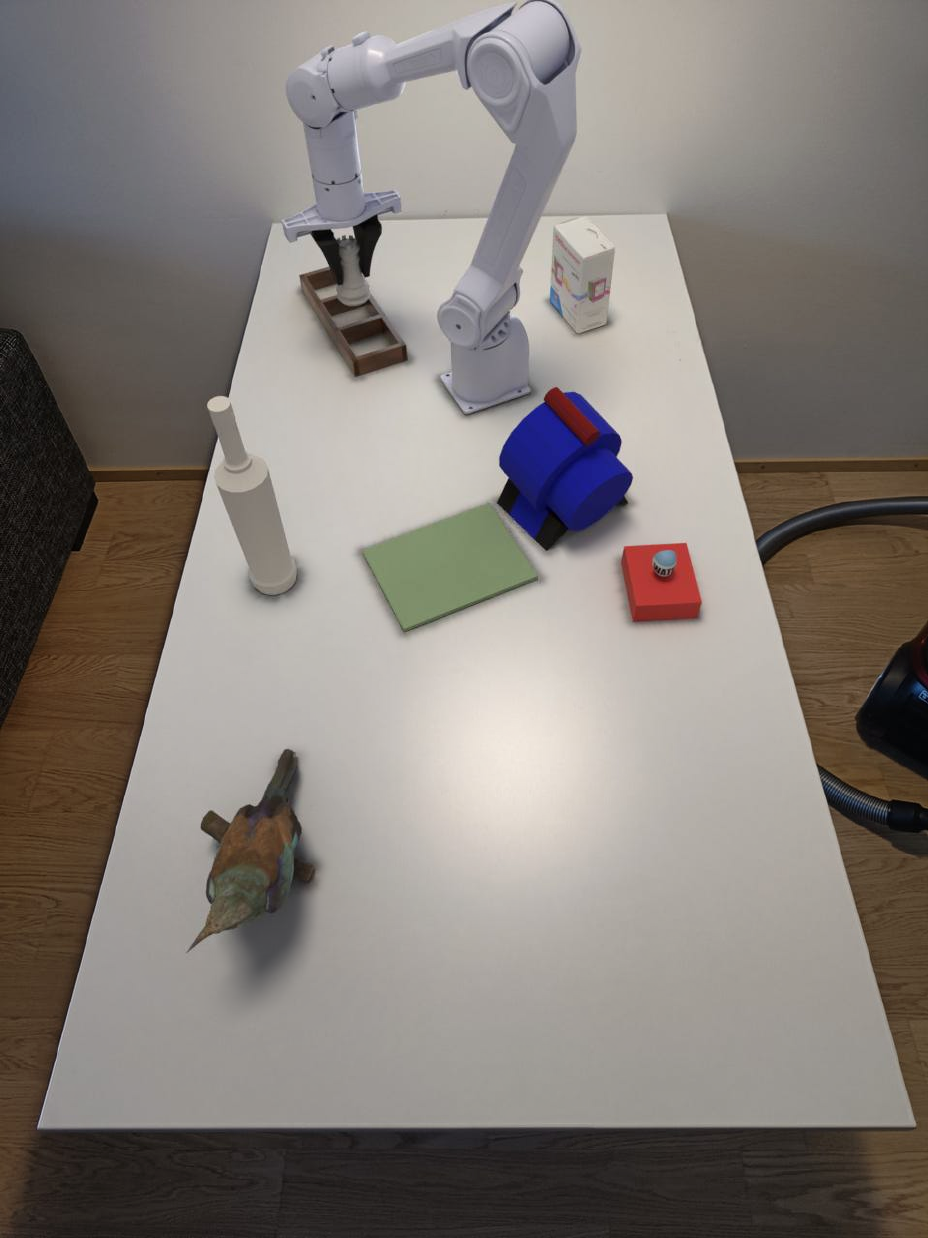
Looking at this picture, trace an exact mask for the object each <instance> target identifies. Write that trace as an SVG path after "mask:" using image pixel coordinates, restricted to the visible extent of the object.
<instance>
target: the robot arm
mask: <svg viewBox="0 0 928 1238" xmlns="http://www.w3.org/2000/svg"><path fill="white" fill-rule="evenodd" d="M518 3H519V2H518V1H514V2H506V3H502V4H500V5H496V6H493V7H490V8H487V9H484V10H482V11H478V12H474V13H472V14H469V15H467V16H464V17H462V18H458V19H456V20H454V21H452V22H449V23H447V24H444V25H441V26H439V27H437V28H434V29H431V30H429V31H427V32H424V33H422V34H419V35H416V36H414V37H412V38H409V39H407V40H404V41H402V42H398V43H397V42H395V41H394V40H393V39H391V37H389V36H387V35H384V34H375V35H374V36H371V34H370V32H369V30H365V31H363V32H360V33H358V34H356V35H355V36H354V37H352V38H351V42H352V43H351V44H348V45H345V46H342V47H338V48H336V47H335V46H334V45H329V46H326V47H325V48H323V49H321V50H320V52H319V53H317V54H316V55H314V56H312V57H311V58H310V59H308V60H306V61H305V62H303V63H302V64H300V65H299V66H297V67H296V68H295V69H293V71H291V72H290V73H289V74H288V76H287V78H286V81H285V96H286V98H287V99H286V100H287V102H288V104H289V107H290V109H291V110H292V112H293V113H294V115H295V116H296V117H297V118H298V119H299V121H301V122H302V127H303V133H304V137H305V143H306V144H305V145H306V149H307V156H308V162H309V167H310V172H311V179H312V183H313V184H312V185H313V190H314V197H315V204H312V206H309V207H308V208H306V209H304V210H302V211H300V212H298V213H296V214H294V215H292V216H290V217H286V218H284V219H281V224H282V231H283V234H284V237H285V238H286V240H287V241H288V243H289V244H291V243H294V242H297V241H298V238H300V237H304V236H308V235H310V236H311V237H312V239H313V240H314V242H315V244H316V245H317V247H318V249H320V251H321V253H322V255H323V257H324V259H325V260H326V262H327V265H328V267H329V268H330V270H331V273H332V277H333V279H334V280H335V282H336V284H335V285H336V286H337V285H342V284H343V277H342V272H341V268H340V261H339V243H338V241H337V240H336V239H337V238H336V237H335V232H333V230H340V229H349V228H352V230H353V235H354V236H353V237H354V238H356V241H357V243H359V245H360V250H359V251H358V253H357V254H358V255H359V257H360V260H359V266H360V269H361V273H362V275H363V276H364V277H365V279H366V278H369V277H370V276H371V267H372V261H373V257H374V252H375V249H376V246H377V244H378V242H379V240H380V237H381V236H382V233H383V226H382V223H381V221H380V220H379V216H380V215H384V214H388V213H391V212H392V214H394V215H395V214H399V213H402V211H403V208H402V198H401V196H400V194H399V193H398V191H397V190H395V189H389V190H384V191H374V192H373V191H372V192H365V191H364V184H363V176H362V175H363V174H362V167H361V158H360V152H359V151H360V150H359V141H358V134H357V133H358V132H357V125H356V120H357V119H358V118H359V117H358V111H360V110H364V109H367V108H370V107H374V106H377V105H381V104H384V103H388V102H392V101H395V100H397V99H399V97H400V96H401V95H402V94H403V92H404V90H405V87H406V84H407V82H412V81H416V80H420V79H425V78H431V77H434V76H439V75H442V74H447V73H451V72H452V73H453V72H455V73H456V76H457V78H458V81H459V83H460V85H461V87H462V88H463V90H466V91H469V89H471V88H472V89H471V90H473V92H474V94H475V95H476V97H477V99H478V100H479V102H480V103H481V105H482V106H483V107H484V109H486V111H487V112H488V113H489V114H490V116H491V117H492V118H493V120H494V121H495V122H496V124H497V125H498V127H499V128H500V129H501V130H502V132H503V133H504V134H505V136H506V137H507V138H508V140H509V141H510V142H511V143H512V144H515V146H514V148H513V151H512V154H511V156H510V158H509V162H508V164H507V167H506V169H505V173H504V175H503V177H502V180H501V183H500V185H499V188H498V191H497V194H496V195H495V199H494V202H493V204H492V207H491V209H490V212H489V215H488V216H487V217H488V218H487V219H486V223H485V226H484V228H483V231H482V233H481V235H480V238H479V240H478V241H479V242H478V244H477V246H476V249H475V252H474V254H473V257H472V260H471V262H470V264H469V266H468V268H467V269H466V270H465V272H464V274H463V275H462V276H461V278H460V279H459V281H458V283H457V284H456V285H455V287H454V289H453V292H452V294H451V296H450V297H449V298H447V299H446V300H445V301H443V302H442V303H441V304H440V306H439V307H438V309H437V317H436V318H437V324H438V326H439V328H440V330H441V332H442V334H443V335H444V336H445V338H446V339H448V342H450V364H451V365H450V366H451V371H449V372H446V373H443V374H441V375H440V378H439V379H440V381H441V382H442V384H443V385H444V387H445V388H446V390H447V391H448V392H449V394H450V395H451V397H452V398H453V400H454V401H455V402H456V404H457V405H458V407H459V408H460V409H461V411H462V412H463V413H464V414H465V415H470V414H473V413H476V412H478V411H481V410H485V409H487V408H490V407H493V406H496V405H499V404H502V403H505V402H508V401H511V400H513V399H516V398H519V397H523V396H526V395H528V394H530V393H531V387H530V386H529V370H530V369H529V367H530V342H529V337H528V333H527V330H526V328H525V326H524V324H523V322H522V321H521V319H520V318H518V316H517V315H511V310H513V309H514V308H515V307H516V306H517V305H518V303H519V301H520V297H521V287H520V286H521V285H520V283H521V278H522V276H523V273H524V269H523V268H522V267H521V263H522V261H523V259H524V256H525V254H526V251H527V249H528V247H529V245H530V243H531V241H532V238H533V237H534V234H535V232H536V229H537V227H538V225H539V223H540V221H541V218H542V217H543V214H544V212H545V209H546V207H547V204H548V203H549V199H550V198H551V196H552V193H553V191H554V189H555V187H556V185H557V182H558V180H559V178H560V175H561V173H562V171H563V169H564V166H565V164H566V162H567V159H568V157H569V155H570V153H571V151H572V148H573V146H574V144H575V141H576V137H577V133H578V132H577V131H578V126H577V125H578V122H577V121H578V119H577V87H576V85H577V83H576V82H577V81H576V74H577V69H578V66H579V61H580V58H581V53H582V46H581V43H580V41H579V39H578V36H577V33H576V32H575V29H574V27H573V23H572V21H571V19H570V17H569V15H568V13H567V11H566V10H565V8H564V7H563V6H561V4H560V3H558V1H556V0H526V1H525V2H523V4H521V5H520V6H519V8H518V9H517V10H516V11H515V12H513V11H514V9H515V7H517V5H518Z"/></svg>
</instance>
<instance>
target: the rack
mask: <svg viewBox="0 0 928 1238" xmlns="http://www.w3.org/2000/svg"><path fill="white" fill-rule="evenodd" d="M298 277H299V282H300V287H301V291H302V293H303V295H304V296H305V298H306V300H307V301H308V302H309V304H310V306H311V307H312V309H313V310H314V312H315V314H316V315H317V317H318V319H319V320H320V322H321V324H322V326H324V328H325V331H326V332H327V333H328V335H329V336H330V338H331V340H332V341H333V343H334V345H335V346H336V348H337V350H338V351H339V353H340V354H341V356H342V358H343V359H344V361H345V363H346V364H347V366H348V368H349V369H350V371H351V373H352V374H353V376H354V377H355V378H356V377H359V376H361V375H365V374H368V373H371V372H374V371H377V370H381V369H384V368H386V367H390V366H393V365H396V364H399V363H402V362H405V361H408V348H407V344H406V342H405V341H404V339H403V338H402V336H401V335H400V334H399V332H398V331H397V329H396V328H395V327H394V324H393V323H392V322H391V320H390V319H389V317H388V316H387V315H386V313H385V312H384V310H383V309H382V307H381V305H380V304H379V303H378V301H377V300H376V299H375V297H374V296H373V294H372V293H371V295H370V297H369V299H368V300H367V301H366V302H365V303H363V304H361V305H358V306H348V305H345V304H343V303H342V302H341V301H339V300H338V297H337V294H335V295H332V296H329V297H325V298H320V297H319V295H318V294H317V292H316V290H320V289H323V288H326V287H330V286H333V285H337V284H336V282H335V280H334V279H333V277H332V273H331V270H330V268H329V266H325V267H321V268H319V269H316V270H312V271H308V272H305V273H302V274H299V276H298ZM361 307H365V308H366V309H367V311H368V313H369V314H370V315H371V316H370V317H367V318H363V319H360V320H357V321H353V322H350V323H348V324H345V325H341V326H338V325H337V323H336V322H335V320H334V318H333V317H332V316H336V315H339V314H342V313H346V312H349V311H353V310H357V309H359V308H361ZM380 334H383V335H384V336H385V338H386V340H387V341H388V343H389V344H390V345H389V346H385V347H382V348H379V349H375V350H373V351H370V352H367V353H364V354H360V355H357V356H356V354H355V352H354V350H353V349H352V348H351V346H350V345H349V344H352V343H355V342H358V341H361V340H364V339H368V338H372V337H375V336H378V335H380Z"/></svg>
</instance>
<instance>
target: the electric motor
mask: <svg viewBox="0 0 928 1238" xmlns="http://www.w3.org/2000/svg"><path fill="white" fill-rule="evenodd" d="M622 443H623V441H622V438H621V435H620V434H619V433H618V432H617V430H615V428H614V427H612V426H611V424H610V423H609V422H608V421H607V420H606V419H605V418H604V417H603V416H602V415H601V414H600V413H599V412H598V411H597V410H596V409H595V407H593V406H592V404H590V403H589V401H587V399H586V398H585V397H584V396H583V394H580V393H579V392H576V391H562V390H561V388H559V387H558V386H553V387H552V388H550V390H548V391H547V392H546V393H545V394H544V396H543V402H542V403H541V404H539V405H538V406H536V407H534V409H533V410H531V411H530V412H529V413H528V414H526V415H525V417H523V418H522V419H521V420H520V422H519V423H518V424H517V425H516V426H515V428H513V430H512V431H511V433H510V434H509V436H508V437H507V439H506V440H505V442H504V444H503V445H502V448H501V451H500V453H499V456H498V467H499V468H500V470H501V471H502V472H503V473H504V475H506V477H507V480H506V482H505V484H504V486H503V488H502V491H501V492H500V495H499V497H498V499H497V501H496V503H497V505H498V506H500V508H501V509H502V510H504V511H505V513H507V514H508V515H509V516H510V517H511V519H513V520H514V521H515V522H516V523H517V524H518V525H519V526H520V527H521V528H522V529H523V530H524V531H525V532H526V533H527V534H528V535H529V536H530V537H531V538H532V539H534V541H535V542H536V543H537V544H538V545H540V546H541V547H542V549H544V550H545V551H548V550H549V549H550V548H551V547H552V546H553V545H555V544H556V542H558V541H559V540H560V539H561V538H562V537H563V536H564V535H565V534H566V533H567V532H568V531H570V532H575V533H576V532H579V531H583V530H585V529H587V528H589V527H591V526H592V525H594V524H596V523H597V522H599V521H600V520H602V519H603V518H604V517H605V516H606V515H608V514H609V513H610V512H611V511H612V510H613V509H614V508H615V507H617V506H622V505H626V504H627V505H628V504H629V501H628V500H627V498H626V496H625V495H626V494H627V493H628V491H629V490H630V488H631V486H632V484H633V480H634V475H633V473H632V472H631V471H630V470H629V469H628V468H627V466H626V465H625V464H624V463H623V462H622V461H621V460H620V459H619V458H618V455H619V454H620V452H621V447H622Z"/></svg>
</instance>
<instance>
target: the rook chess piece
mask: <svg viewBox="0 0 928 1238" xmlns="http://www.w3.org/2000/svg"><path fill="white" fill-rule="evenodd" d="M336 240H337V241H338V243H339V261H340V268H341V272H342V277H343V284H342V285H337V284H336V289H335V290H336V293H337V294H336V295H337V297H338V300H339V301H341V302H342V303H343V304H345V305H348V306H358V305H361V304H363V303H365V302H366V301H367V300H368V299H369V297H370V295H371V294H372V292H371V289H370V287H371V286H370V284H369V282H368V279H366V278H365V277H364V276H363V274H362V273H361V269H360V266H359V260H360V257H359V255H358V254H357V253H358V251H359V250H360V245H359V243H357V241H356V238H355V237H354V236H353V235H351V234H349V235H348V238H347V235H346V234H344V235H341V238H340V237H337V238H336Z"/></svg>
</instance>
